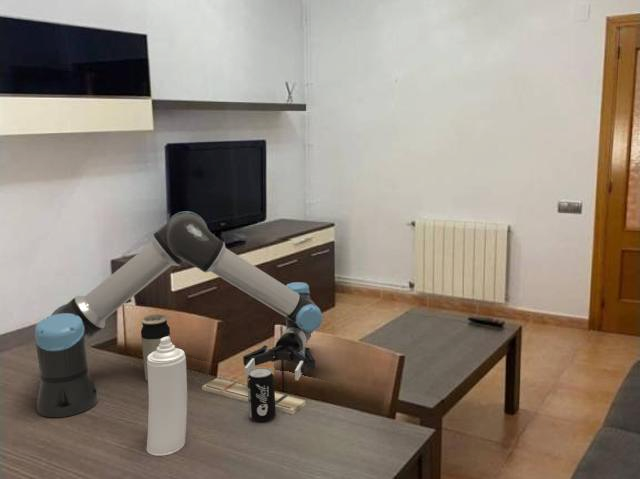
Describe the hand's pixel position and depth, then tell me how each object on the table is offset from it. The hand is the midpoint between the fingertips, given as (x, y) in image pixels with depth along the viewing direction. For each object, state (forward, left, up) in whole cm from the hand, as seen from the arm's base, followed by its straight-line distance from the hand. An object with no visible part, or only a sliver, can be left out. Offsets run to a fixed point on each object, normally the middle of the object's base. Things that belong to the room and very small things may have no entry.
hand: (271, 374), depth 161 cm
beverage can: (-8, -3, -8) cm, 12 cm away
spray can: (-28, +9, -8) cm, 31 cm away
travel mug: (-3, +38, -8) cm, 39 cm away
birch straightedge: (-1, +6, -7) cm, 10 cm away
